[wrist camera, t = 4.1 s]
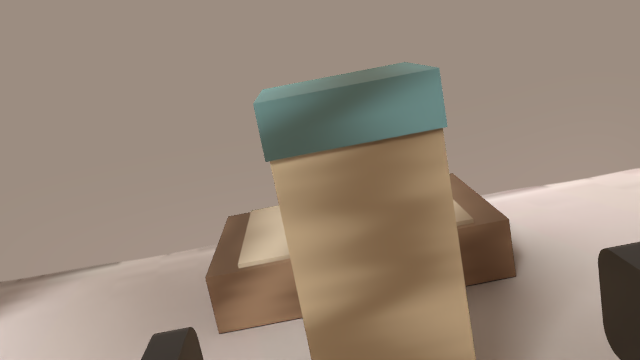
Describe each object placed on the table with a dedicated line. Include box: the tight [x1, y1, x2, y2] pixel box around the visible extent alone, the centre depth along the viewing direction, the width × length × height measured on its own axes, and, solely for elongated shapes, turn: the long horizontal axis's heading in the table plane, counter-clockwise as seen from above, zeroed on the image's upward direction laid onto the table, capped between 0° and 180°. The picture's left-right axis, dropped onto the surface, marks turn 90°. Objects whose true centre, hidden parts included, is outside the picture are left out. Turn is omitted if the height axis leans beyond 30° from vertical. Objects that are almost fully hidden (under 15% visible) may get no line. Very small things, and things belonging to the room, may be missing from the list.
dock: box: [206, 173, 516, 334], centre depth 33 cm, size 14×10×3 cm
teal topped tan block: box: [254, 62, 476, 360], centre depth 19 cm, size 5×5×11 cm
